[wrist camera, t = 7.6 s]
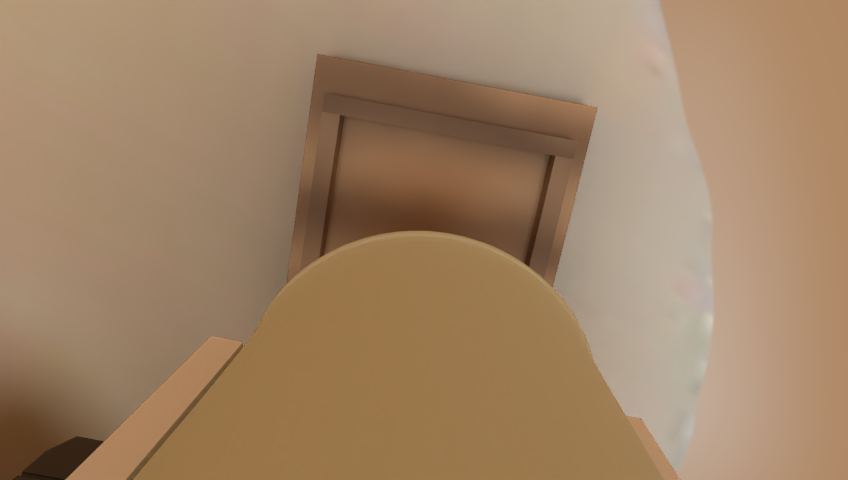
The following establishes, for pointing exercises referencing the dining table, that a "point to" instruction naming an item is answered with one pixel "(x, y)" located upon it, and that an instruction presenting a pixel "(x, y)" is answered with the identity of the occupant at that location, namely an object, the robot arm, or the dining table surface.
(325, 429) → the can
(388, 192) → the stand
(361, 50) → the dining table surface
